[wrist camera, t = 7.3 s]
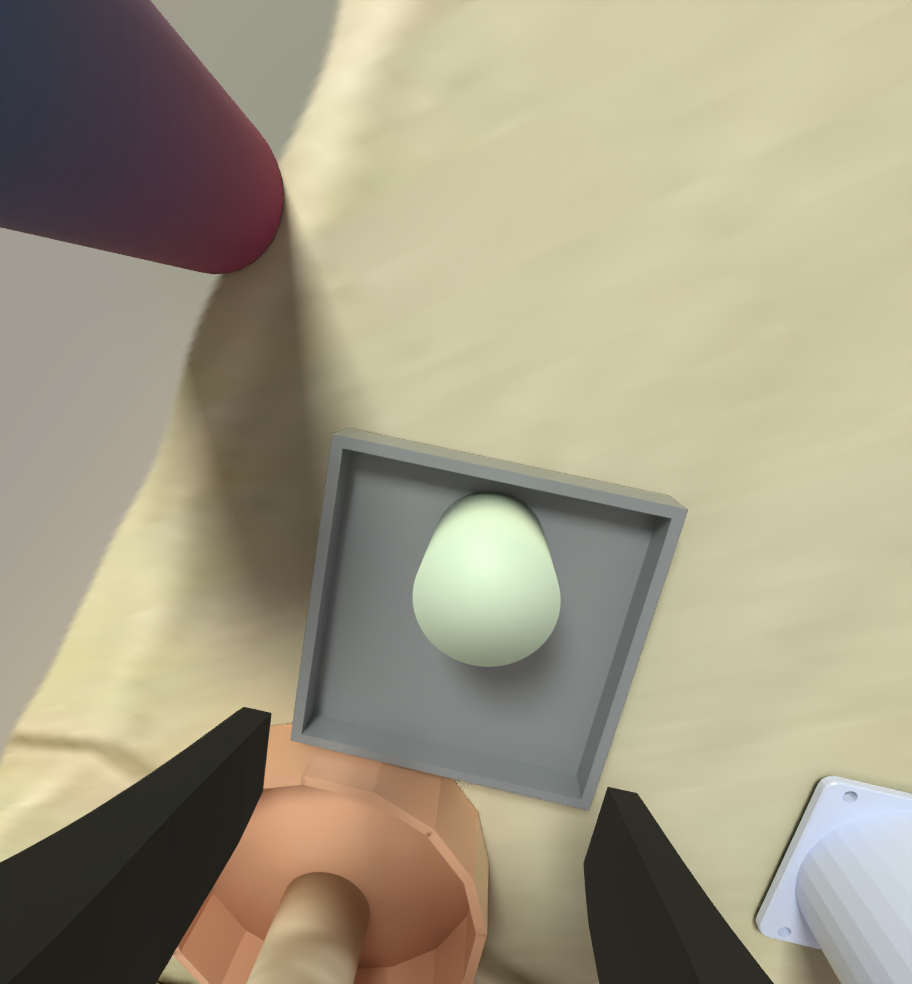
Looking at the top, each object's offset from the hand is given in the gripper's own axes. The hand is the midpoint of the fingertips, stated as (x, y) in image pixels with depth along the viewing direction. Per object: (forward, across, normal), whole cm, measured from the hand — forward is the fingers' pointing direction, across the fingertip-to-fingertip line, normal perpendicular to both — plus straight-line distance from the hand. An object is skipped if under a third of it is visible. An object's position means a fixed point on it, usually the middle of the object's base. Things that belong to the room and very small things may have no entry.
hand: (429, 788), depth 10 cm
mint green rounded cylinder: (+8, -1, -3) cm, 9 cm away
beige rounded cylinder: (+8, +3, +16) cm, 18 cm away
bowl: (+9, +3, +13) cm, 16 cm away
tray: (+9, 0, 0) cm, 9 cm away
